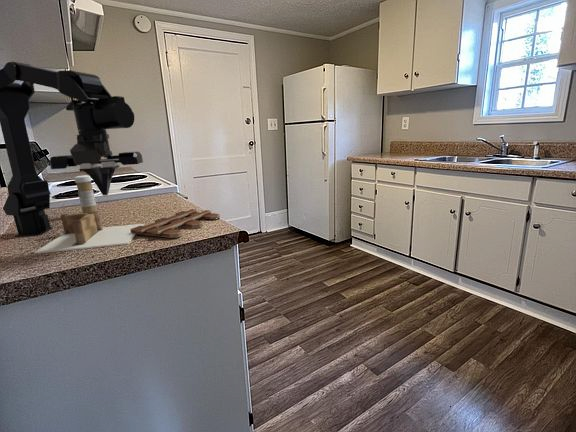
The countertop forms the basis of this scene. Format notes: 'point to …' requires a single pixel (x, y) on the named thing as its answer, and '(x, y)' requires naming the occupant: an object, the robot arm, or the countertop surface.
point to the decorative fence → (175, 223)
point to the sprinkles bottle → (86, 193)
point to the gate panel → (84, 228)
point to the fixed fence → (69, 218)
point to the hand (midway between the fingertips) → (105, 195)
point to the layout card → (92, 239)
